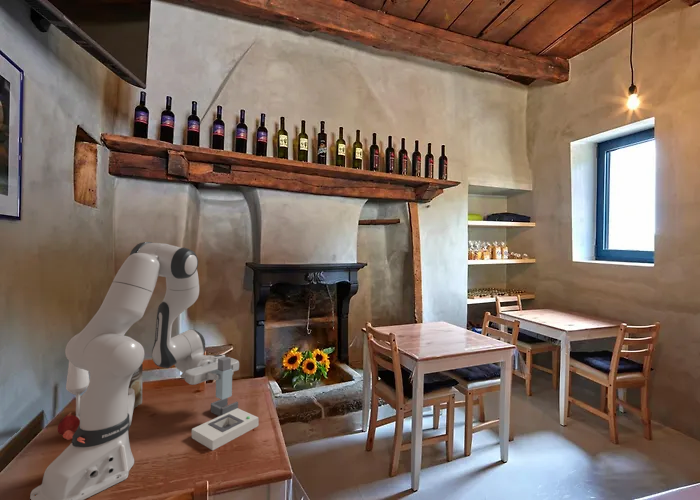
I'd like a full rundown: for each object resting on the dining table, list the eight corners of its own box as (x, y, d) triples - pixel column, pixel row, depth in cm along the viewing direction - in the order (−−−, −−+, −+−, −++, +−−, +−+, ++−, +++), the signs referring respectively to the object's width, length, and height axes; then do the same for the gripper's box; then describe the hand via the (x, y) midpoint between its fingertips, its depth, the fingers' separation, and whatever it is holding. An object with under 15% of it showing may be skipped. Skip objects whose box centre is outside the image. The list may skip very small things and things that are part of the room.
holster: (221, 417, 126) (221, 409, 126) (209, 411, 131) (209, 403, 131) (238, 409, 132) (238, 402, 132) (226, 404, 137) (226, 397, 136)
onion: (56, 443, 109) (56, 418, 109) (58, 435, 114) (58, 411, 113) (79, 437, 112) (79, 413, 112) (80, 430, 117) (80, 407, 117)
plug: (222, 399, 122) (222, 361, 122) (215, 397, 124) (216, 358, 124) (231, 396, 125) (232, 358, 125) (225, 393, 127) (225, 356, 127)
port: (212, 450, 106) (212, 439, 106) (191, 437, 113) (191, 427, 112) (258, 425, 120) (258, 416, 120) (237, 416, 127) (237, 407, 127)
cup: (119, 435, 114) (119, 400, 114) (97, 432, 116) (97, 397, 115) (141, 422, 123) (141, 389, 122) (120, 419, 124) (120, 386, 124)
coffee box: (127, 413, 128) (127, 371, 128) (110, 413, 129) (110, 371, 129) (143, 402, 138) (143, 363, 138) (127, 402, 138) (127, 363, 138)
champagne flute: (84, 424, 121) (84, 357, 121) (61, 426, 119) (61, 359, 119) (93, 415, 127) (93, 351, 127) (72, 417, 125) (72, 353, 125)
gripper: (177, 366, 123) (199, 374, 115) (226, 353, 140) (248, 359, 132) (177, 384, 123) (199, 393, 115) (226, 368, 140) (247, 375, 132)
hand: (225, 375), depth 124 cm, fingers closed on plug, 4 cm apart
